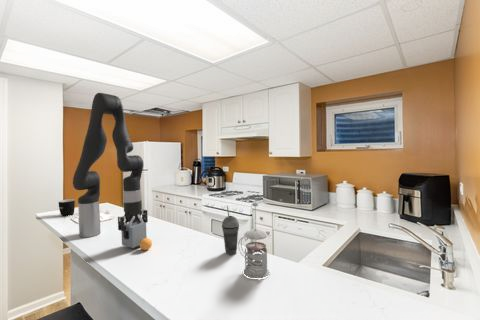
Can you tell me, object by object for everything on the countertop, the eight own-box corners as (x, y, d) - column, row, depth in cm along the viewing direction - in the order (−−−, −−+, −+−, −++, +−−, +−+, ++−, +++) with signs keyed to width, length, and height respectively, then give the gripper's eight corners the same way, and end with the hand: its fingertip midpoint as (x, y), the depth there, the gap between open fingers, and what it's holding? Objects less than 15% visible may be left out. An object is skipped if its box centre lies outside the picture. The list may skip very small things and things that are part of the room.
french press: (262, 283, 78) (261, 207, 77) (232, 274, 84) (231, 203, 83) (274, 270, 86) (274, 201, 85) (246, 262, 92) (245, 197, 91)
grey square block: (122, 245, 108) (121, 225, 107) (135, 239, 114) (135, 221, 114) (133, 248, 104) (132, 228, 104) (146, 242, 111) (146, 223, 110)
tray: (81, 227, 141) (81, 220, 141) (67, 220, 159) (67, 214, 159) (117, 218, 157) (117, 213, 157) (101, 213, 175) (101, 208, 175)
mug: (57, 215, 164) (56, 201, 164) (72, 212, 172) (71, 198, 171) (64, 218, 157) (63, 203, 157) (79, 215, 165) (78, 200, 164)
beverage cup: (237, 257, 97) (236, 208, 96) (220, 256, 98) (219, 207, 97) (241, 249, 104) (240, 204, 103) (224, 248, 105) (223, 203, 104)
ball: (141, 238, 103) (147, 248, 102) (150, 234, 108) (156, 243, 107) (135, 244, 105) (141, 254, 104) (144, 240, 110) (150, 249, 108)
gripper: (139, 196, 116) (141, 229, 117) (112, 202, 104) (114, 240, 104) (151, 197, 113) (152, 232, 114) (123, 204, 100) (125, 243, 101)
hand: (134, 235), depth 109 cm, fingers closed on grey square block, 7 cm apart
